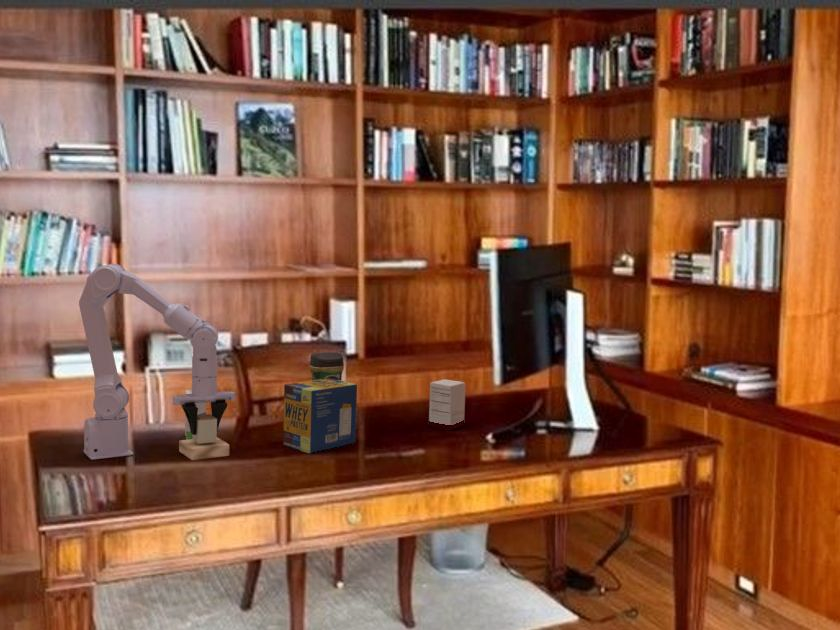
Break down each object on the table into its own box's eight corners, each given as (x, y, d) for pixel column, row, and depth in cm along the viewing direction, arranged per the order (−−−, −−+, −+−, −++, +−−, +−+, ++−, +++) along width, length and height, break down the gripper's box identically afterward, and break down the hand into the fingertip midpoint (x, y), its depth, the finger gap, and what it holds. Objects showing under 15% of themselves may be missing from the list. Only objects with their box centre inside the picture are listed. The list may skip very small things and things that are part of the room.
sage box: (198, 443, 201) (198, 419, 200) (192, 439, 204) (192, 415, 204) (216, 442, 203) (217, 417, 202) (210, 437, 207) (210, 413, 206)
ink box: (206, 441, 215) (206, 395, 214) (186, 442, 214) (186, 395, 212) (204, 433, 223) (204, 388, 222) (184, 434, 222) (184, 389, 221)
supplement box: (442, 422, 244) (444, 378, 243) (464, 426, 240) (466, 382, 239) (427, 427, 238) (429, 382, 237) (450, 431, 234) (451, 385, 233)
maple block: (191, 462, 198) (191, 449, 198) (179, 452, 206) (179, 440, 205) (229, 457, 203) (229, 444, 203) (215, 448, 211) (215, 436, 210)
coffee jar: (336, 412, 253) (337, 350, 251) (346, 418, 246) (348, 353, 244) (305, 415, 249) (306, 351, 247) (314, 420, 242) (316, 355, 240)
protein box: (282, 445, 213) (283, 384, 212) (329, 436, 225) (330, 377, 223) (309, 454, 206) (310, 390, 205) (356, 443, 218) (358, 383, 216)
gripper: (179, 380, 195) (179, 439, 197) (240, 376, 203) (239, 433, 204) (169, 375, 201) (169, 433, 202) (229, 371, 209) (228, 426, 210)
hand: (204, 432), depth 204 cm, fingers open, 4 cm apart
